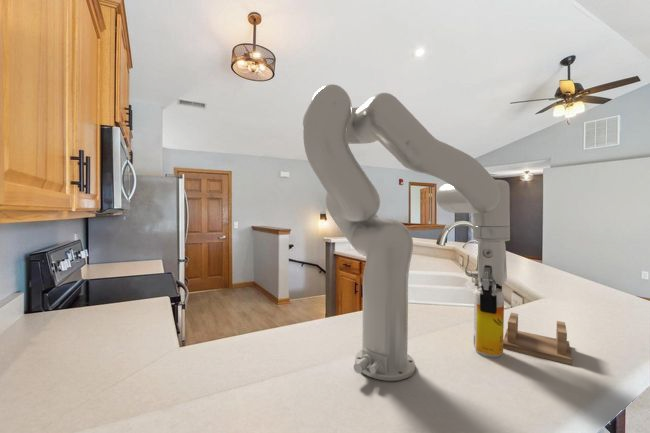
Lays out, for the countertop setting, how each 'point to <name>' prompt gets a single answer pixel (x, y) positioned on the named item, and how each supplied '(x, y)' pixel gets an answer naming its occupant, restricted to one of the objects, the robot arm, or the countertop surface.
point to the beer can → (488, 327)
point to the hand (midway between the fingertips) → (491, 306)
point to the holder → (538, 342)
